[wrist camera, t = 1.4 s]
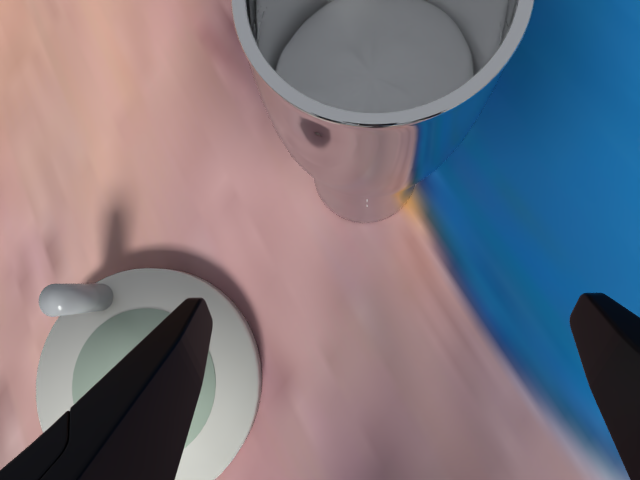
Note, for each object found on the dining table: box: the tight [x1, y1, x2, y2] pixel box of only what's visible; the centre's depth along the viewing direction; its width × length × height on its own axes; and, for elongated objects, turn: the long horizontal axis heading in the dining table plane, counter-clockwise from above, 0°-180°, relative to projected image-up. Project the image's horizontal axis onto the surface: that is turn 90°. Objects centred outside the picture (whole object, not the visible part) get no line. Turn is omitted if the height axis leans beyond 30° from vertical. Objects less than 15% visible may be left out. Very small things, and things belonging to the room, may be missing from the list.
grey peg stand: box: [36, 268, 262, 480], centre depth 21 cm, size 13×13×5 cm
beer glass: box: [231, 0, 535, 223], centre depth 16 cm, size 7×7×15 cm
